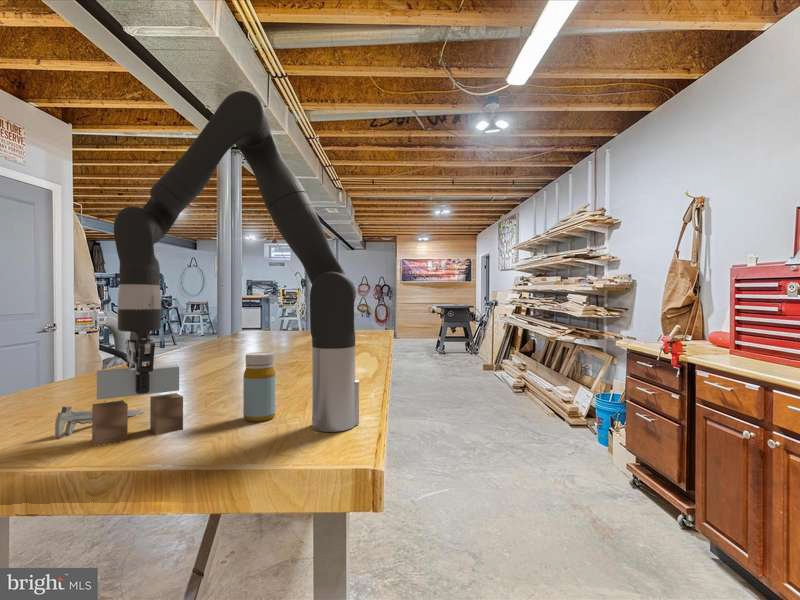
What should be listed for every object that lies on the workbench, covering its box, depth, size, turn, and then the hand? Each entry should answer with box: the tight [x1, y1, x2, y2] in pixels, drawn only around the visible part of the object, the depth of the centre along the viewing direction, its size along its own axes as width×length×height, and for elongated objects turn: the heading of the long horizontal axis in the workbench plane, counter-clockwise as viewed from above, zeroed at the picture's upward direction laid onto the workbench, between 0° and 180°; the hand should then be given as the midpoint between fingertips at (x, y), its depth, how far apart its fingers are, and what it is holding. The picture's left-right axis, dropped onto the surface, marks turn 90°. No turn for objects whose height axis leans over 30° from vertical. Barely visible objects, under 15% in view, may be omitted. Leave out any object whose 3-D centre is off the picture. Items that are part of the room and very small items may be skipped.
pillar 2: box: [149, 392, 184, 436], centre depth 89 cm, size 5×5×7 cm
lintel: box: [96, 364, 180, 400], centre depth 85 cm, size 14×4×5 cm, turn 125°
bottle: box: [242, 351, 276, 423], centre depth 97 cm, size 7×7×15 cm
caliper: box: [54, 406, 145, 439], centre depth 93 cm, size 20×1×6 cm, turn 166°
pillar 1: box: [91, 399, 129, 447], centre depth 82 cm, size 5×5×7 cm
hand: (139, 390), depth 85 cm, fingers closed on lintel, 4 cm apart
